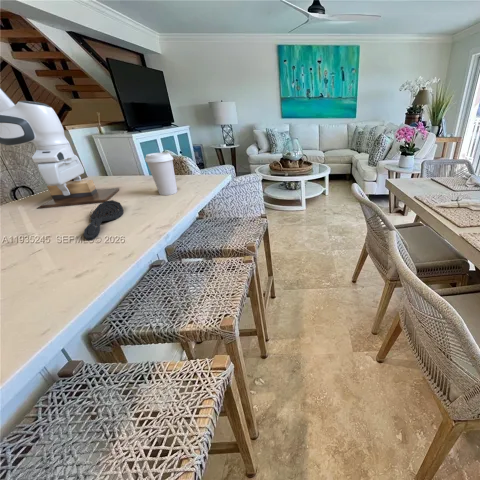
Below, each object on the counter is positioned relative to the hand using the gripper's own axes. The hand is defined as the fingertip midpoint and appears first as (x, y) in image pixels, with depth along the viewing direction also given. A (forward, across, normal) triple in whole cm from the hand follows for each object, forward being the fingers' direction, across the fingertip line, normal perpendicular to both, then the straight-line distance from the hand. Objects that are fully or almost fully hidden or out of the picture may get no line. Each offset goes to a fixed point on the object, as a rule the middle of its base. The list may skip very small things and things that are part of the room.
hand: (73, 191), depth 99 cm
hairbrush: (+3, +31, +18) cm, 36 cm away
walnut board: (+3, +1, +2) cm, 4 cm away
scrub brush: (+2, 0, 0) cm, 2 cm away
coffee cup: (+3, +4, +32) cm, 32 cm away
